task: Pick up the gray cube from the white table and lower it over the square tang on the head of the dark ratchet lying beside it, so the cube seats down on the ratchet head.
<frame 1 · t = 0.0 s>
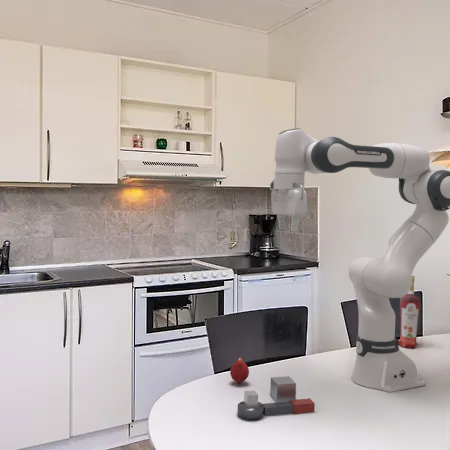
hand: (287, 230, 148), 48 cm above the table, tool pointing down, fingers open, 8 cm apart
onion: (239, 384, 154), on the table
gray cube: (282, 399, 142), on the table
ratchet: (250, 415, 132), on the table
liquor: (407, 346, 196), on the table
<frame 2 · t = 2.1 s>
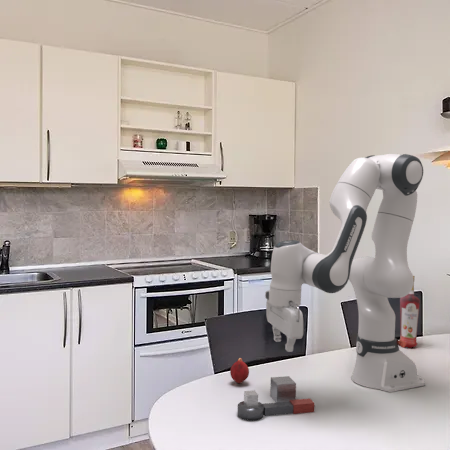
hand: (283, 345, 141), 16 cm above the table, tool pointing down, fingers open, 8 cm apart
nothing on the table moved.
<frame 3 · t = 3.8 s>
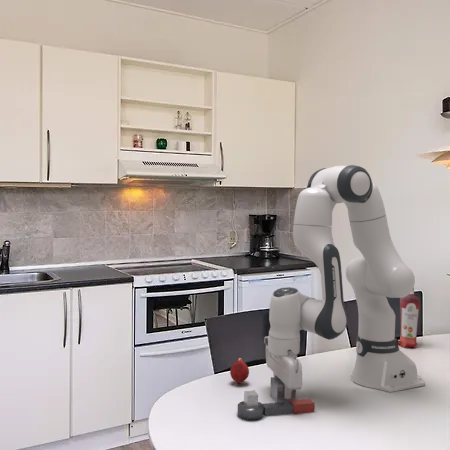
hand: (282, 392, 142), 2 cm above the table, tool pointing down, fingers closed on gray cube, 6 cm apart
gray cube: (282, 399, 142), on the table, touching gripper
everything else where it was.
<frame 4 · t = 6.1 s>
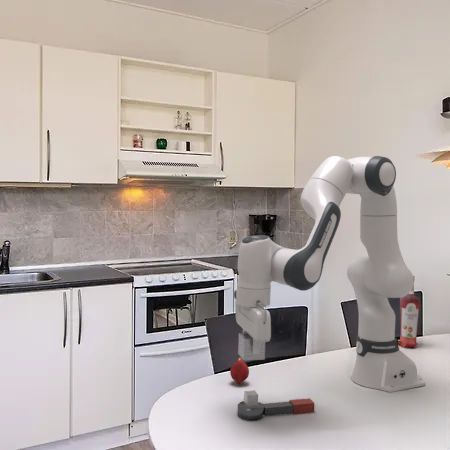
hand: (251, 349, 131), 18 cm above the table, tool pointing down, fingers closed on gray cube, 6 cm apart
gray cube: (251, 356, 131), point 16 cm above the table, touching gripper
everything else where it was.
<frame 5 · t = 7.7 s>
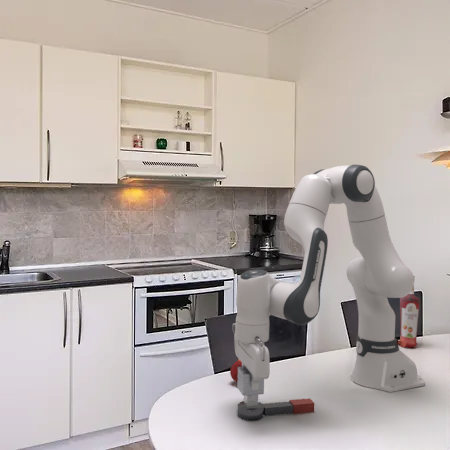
hand: (250, 383, 131), 8 cm above the table, tool pointing down, fingers closed on gray cube, 6 cm apart
gray cube: (250, 390, 131), point 7 cm above the table, touching gripper
everything else where it was.
when the fingers open (6 cm above the table, at t = 8.8 s): gray cube drops 1 cm, resting on ratchet.
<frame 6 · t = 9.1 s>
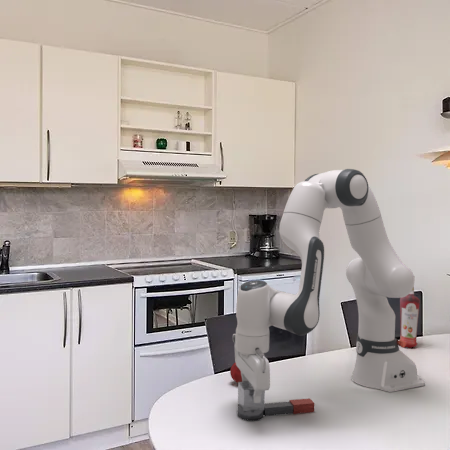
hand: (251, 394, 131), 6 cm above the table, tool pointing down, fingers open, 8 cm apart
gray cube: (250, 405, 132), point 2 cm above the table, touching ratchet
everything else where it was.
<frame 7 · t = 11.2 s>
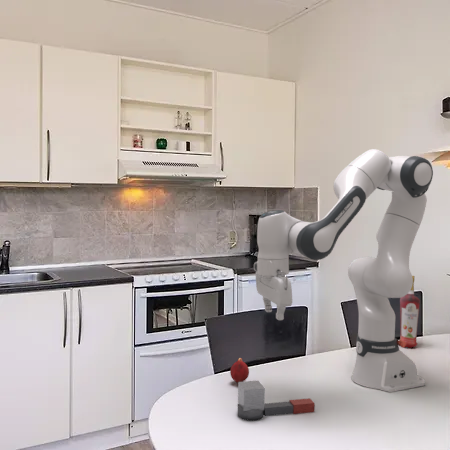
hand: (273, 315, 142), 24 cm above the table, tool pointing down, fingers open, 8 cm apart
nothing on the table moved.
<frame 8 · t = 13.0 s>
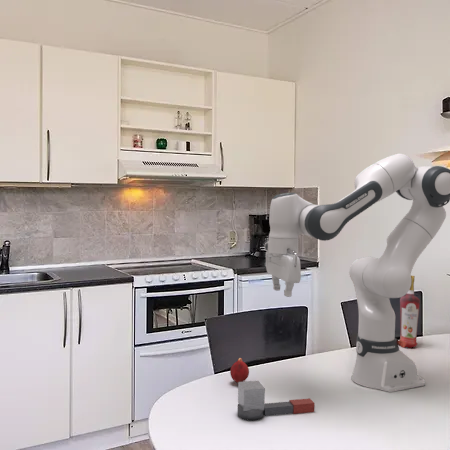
hand: (282, 293, 149), 29 cm above the table, tool pointing down, fingers open, 8 cm apart
nothing on the table moved.
at the end: gray cube 0.0 cm off-centre on the ratchet, point 2.5 cm above the ratchet's base; the gripper is holding nothing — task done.
